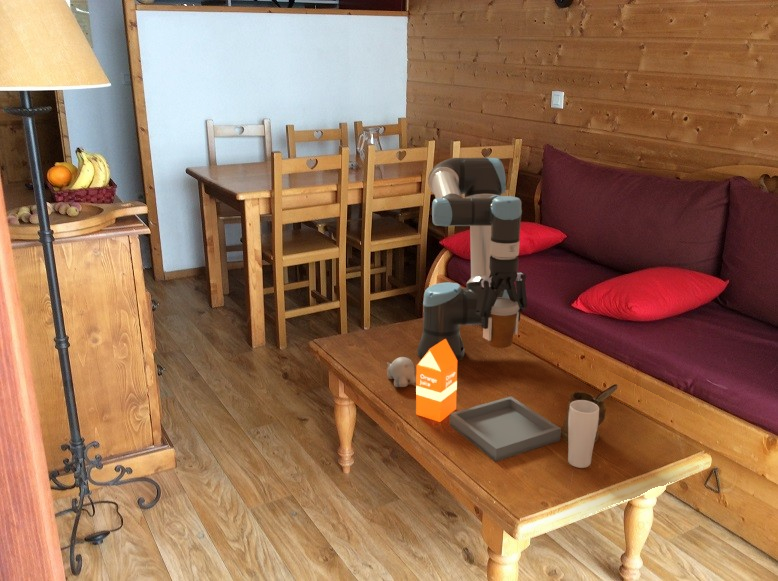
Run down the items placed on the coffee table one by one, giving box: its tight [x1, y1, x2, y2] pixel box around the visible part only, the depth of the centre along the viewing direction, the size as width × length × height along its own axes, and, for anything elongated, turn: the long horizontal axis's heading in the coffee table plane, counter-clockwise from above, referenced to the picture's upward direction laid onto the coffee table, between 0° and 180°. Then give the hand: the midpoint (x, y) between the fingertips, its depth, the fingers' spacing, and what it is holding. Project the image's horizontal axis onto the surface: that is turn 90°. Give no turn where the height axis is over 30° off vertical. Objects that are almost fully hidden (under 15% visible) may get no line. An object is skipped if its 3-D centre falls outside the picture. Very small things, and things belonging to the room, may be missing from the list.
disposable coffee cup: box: [487, 297, 519, 349], centre depth 190 cm, size 10×10×12 cm
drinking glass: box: [567, 400, 599, 469], centre depth 164 cm, size 7×7×15 cm
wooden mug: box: [560, 384, 618, 443], centre depth 173 cm, size 9×14×18 cm, turn 37°
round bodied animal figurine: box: [386, 356, 416, 388], centre depth 206 cm, size 7×12×8 cm, turn 30°
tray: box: [449, 395, 562, 463], centre depth 179 cm, size 20×20×4 cm
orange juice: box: [415, 339, 458, 423], centre depth 187 cm, size 8×9×20 cm
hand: (500, 335), depth 191 cm, fingers closed on disposable coffee cup, 8 cm apart
